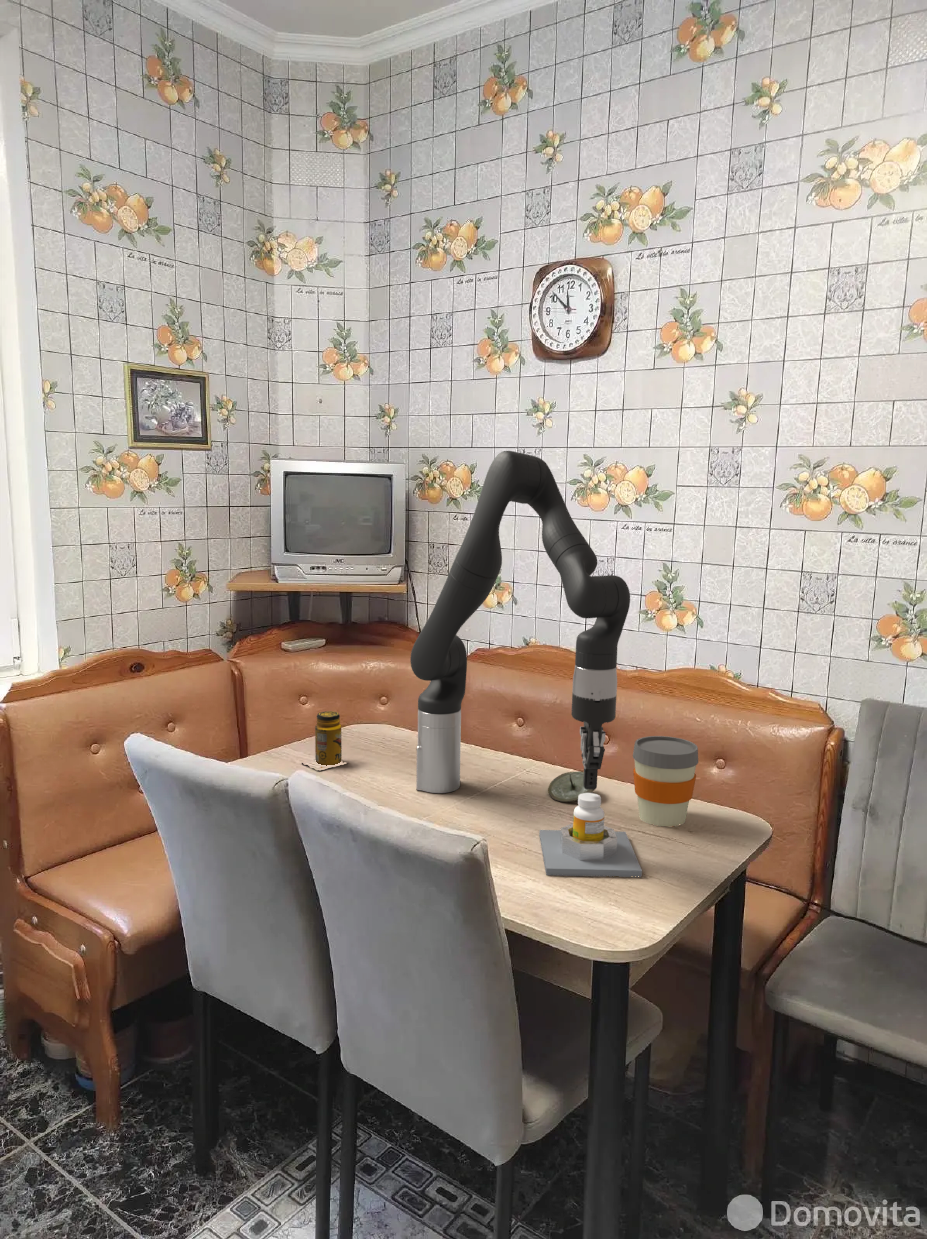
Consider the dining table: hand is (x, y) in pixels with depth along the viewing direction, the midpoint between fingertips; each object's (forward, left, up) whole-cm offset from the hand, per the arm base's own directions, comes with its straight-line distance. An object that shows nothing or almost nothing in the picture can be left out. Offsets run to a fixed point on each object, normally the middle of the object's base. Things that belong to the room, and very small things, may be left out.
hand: (589, 787), depth 147 cm
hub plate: (0, 0, -13) cm, 13 cm away
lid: (0, +29, -13) cm, 32 cm away
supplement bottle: (0, 0, -12) cm, 12 cm away
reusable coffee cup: (+17, +18, -13) cm, 28 cm away
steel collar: (0, 0, -11) cm, 11 cm away
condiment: (-55, +46, -13) cm, 73 cm away
